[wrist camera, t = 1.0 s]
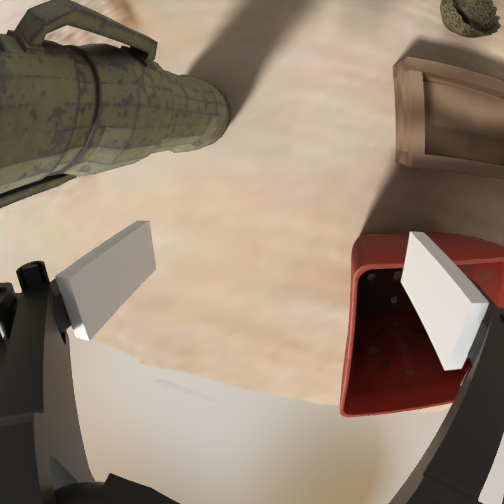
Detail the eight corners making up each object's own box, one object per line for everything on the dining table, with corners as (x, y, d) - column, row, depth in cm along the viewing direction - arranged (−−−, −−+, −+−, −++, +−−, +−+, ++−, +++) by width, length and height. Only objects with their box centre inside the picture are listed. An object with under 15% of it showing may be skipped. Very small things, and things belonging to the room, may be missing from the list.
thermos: (252, 94, 34) (-6, -31, 2) (201, 169, 38) (-57, 317, 7) (195, 62, 33) (-65, -24, 1) (150, 136, 38) (-112, 205, 6)
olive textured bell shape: (446, 51, 26) (474, 38, 19) (417, 6, 25) (439, -15, 17) (480, 40, 24) (510, 29, 17) (453, -3, 22) (477, -21, 15)
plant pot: (462, 209, 34) (532, 256, 19) (442, 323, 41) (480, 397, 26) (334, 210, 38) (354, 265, 22) (332, 331, 45) (338, 418, 29)
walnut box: (392, 66, 29) (407, 56, 24) (510, 93, 26) (534, 92, 20) (395, 161, 34) (411, 167, 28) (510, 176, 31) (533, 184, 25)
